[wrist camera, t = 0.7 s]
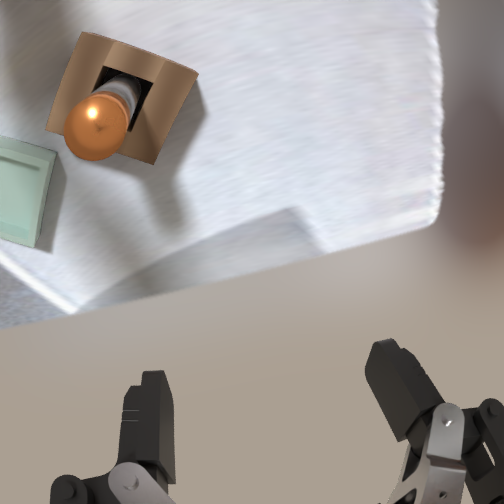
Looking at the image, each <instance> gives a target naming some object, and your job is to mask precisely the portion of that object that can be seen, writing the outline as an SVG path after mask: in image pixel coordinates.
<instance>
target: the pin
mask: <svg viewBox="0 0 504 504" xmlns="http://www.w3.org/2000/svg"><path fill="white" fill-rule="evenodd" d="M140 95H141V85H140V82H139V81H138V79H137V78H136V77H134V76H133V75H130V74H119V75H117V76H115V77H113V78H112V79H110V80H109V81H108V82H106V83H105V84H103V85H102V86H101V87H99V88H98V89H97V90H95V91H94V92H93V93H91V94H90V95H89V96H87V97H86V98H85V99H84V100H82V101H81V102H80V103H79V104H77V105H76V106H75V107H74V108H73V109H72V110H71V111H70V113H69V114H68V116H67V118H66V121H65V124H64V138H65V142H66V144H67V146H68V148H69V149H70V150H71V152H72V153H74V154H75V155H76V156H78V157H79V158H81V159H84V160H88V161H98V160H102V159H105V158H107V157H109V156H111V155H112V154H114V153H115V152H116V151H117V150H118V149H119V147H120V146H121V144H122V142H123V140H124V137H125V135H126V132H127V129H128V126H129V123H130V121H131V118H132V115H133V113H134V110H135V108H136V105H137V102H138V100H139V97H140Z"/></svg>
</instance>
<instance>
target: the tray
mask: <svg viewBox="0 0 504 504" xmlns="http://www.w3.org/2000/svg"><path fill="white" fill-rule="evenodd" d="M56 154H57V152H55V151H52V150H49V149H45V148H42V147H39V146H35V145H32V144H29V143H25V142H22V141H18V140H15V139H11V138H8V137H4V136H1V135H0V238H2V239H6V240H9V241H12V242H15V243H18V244H22V245H25V246H28V247H31V248H34V247H35V244H36V242H37V240H38V238H39V235H40V230H41V224H42V218H43V212H44V207H45V201H46V196H47V192H48V187H49V182H50V178H51V174H52V170H53V166H54V162H55V158H56Z"/></svg>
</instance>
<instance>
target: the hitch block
mask: <svg viewBox="0 0 504 504" xmlns="http://www.w3.org/2000/svg"><path fill="white" fill-rule="evenodd" d="M109 67H110V68H113V69H116V70H119V71H122V72H125V73H128V74H131V75H134V76H136V77H139V78H142V79H145V80H147V81H150V82H153V83H152V85H151V87H150V89H149V91H148V93H147V95H146V97H145V99H144V101H143V103H142V106H141V108H140V110H139V112H138V114H137V117H136V119H135V120H133V119H131V121H130V123H129V126H128V129H127V132H126V135H125V137H124V140H123V142H122V144H121V146H120V147H119V149H118V150H117V151H116V153H119V154H122V155H125V156H128V157H131V158H134V159H137V160H140V161H143V162H146V163H149V164H151V165H154V163H155V161H156V159H157V156H158V154H159V152H160V150H161V148H162V145H163V143H164V141H165V139H166V137H167V135H168V133H169V131H170V129H171V126H172V124H173V122H174V120H175V118H176V116H177V114H178V112H179V110H180V108H181V106H182V105H183V103H184V101H185V99H186V97H187V95H188V93H189V91H190V89H191V88H192V86H193V84H194V82H195V80H196V78H197V77H198V75H199V74H198V73H197V72H196V71H195V70H193V69H191V68H188V67H186V66H184V65H181V64H179V63H176V62H174V61H171V60H169V59H166V58H164V57H161V56H159V55H156V54H154V53H151V52H148V51H146V50H143V49H140V48H137V47H135V46H132V45H129V44H126V43H123V42H120V41H117V40H114V39H111V38H107V37H104V36H101V35H98V34H94V33H88V32H82V33H81V35H80V37H79V39H78V42H77V44H76V46H75V48H74V51H73V53H72V55H71V57H70V60H69V62H68V65H67V67H66V70H65V72H64V75H63V77H62V80H61V83H60V85H59V88H58V91H57V94H56V97H55V100H54V103H53V106H52V109H51V112H50V115H49V118H48V122H47V125H46V129H45V130H47V131H50V132H53V133H57V134H60V135H63V136H64V124H65V121H66V118H67V116H68V114H69V113H70V111H71V110H72V109H73V108H74V107H75V106H76V105H77V104H79V103H80V102H81V101H82V100H84V99H85V98H86V97H87V96H89V95H90V94H91V93H93V92H94V91H95V90H97V89H98V88H99V87H101V84H102V82H103V80H104V77H105V75H106V73H107V71H108V68H109Z"/></svg>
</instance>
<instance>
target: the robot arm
mask: <svg viewBox="0 0 504 504" xmlns="http://www.w3.org/2000/svg"><path fill="white" fill-rule="evenodd" d="M365 376H366V380H367V382H368V384H369V386H370V387H371V389H372V392H373V393H374V395H375V397H376V399H377V401H378V403H379V405H380V407H381V409H382V411H383V413H384V415H385V417H386V419H387V421H388V423H389V425H390V427H391V429H392V431H393V433H394V435H395V437H396V439H397V441H398V442H400V441H403V440H405V439H408V441H409V444H408V447H407V451H406V454H405V458H404V462H403V466H402V469H401V473H400V476H399V479H398V483H397V485H396V487H395V489H394V490H393V492H392V494H391V496H390V498H389V500H388V502H387V504H460V503H461V499H462V493H463V488H464V482H465V483H466V485H467V488H468V490H469V492H470V495H471V497H472V500H473V502H474V504H504V406H503V405H502V403H500V402H499V401H498V400H496V399H491V398H489V399H486V400H484V401H483V402H482V404H481V405H480V406H479V407H478V408H469V409H460V408H459V407H458V406H456V405H454V404H452V403H446V402H445V401H444V400H443V398H442V397H441V395H440V394H439V392H438V391H437V389H436V387H435V386H434V384H433V383H432V381H431V380H430V378H429V377H428V375H427V374H426V373H425V371H424V369H423V368H422V367H421V366H420V363H419V362H418V360H417V359H416V357H415V356H414V355H413V354H412V353H410V352H409V351H408V350H407V349H405V348H403V349H400V347H399V346H398V344H397V343H396V341H395V340H394V339H392V338H390V339H386V340H382V341H377V342H375V343H374V344H373V346H372V349H371V352H370V355H369V358H368V360H367V363H366V366H365ZM484 442H485V443H486V445H487V447H488V449H489V451H490V453H491V455H492V457H493V459H494V462H495V466H494V465H493V463H492V461H491V459H490V457H489V455H488V453H487V451H486V449H485V448H484V445H483V443H484ZM168 484H176V479H175V455H174V405H173V398H172V393H171V391H170V388H169V384H168V381H167V378H166V375H165V373H164V371H163V370H159V371H144V372H143V374H142V382H141V386H131V387H130V388H129V390H128V392H127V393H126V395H125V397H124V403H123V412H122V422H121V430H120V439H119V453H118V460H117V463H116V465H115V466H114V468H113V469H112V470H111V471H110V472H108V473H106V474H105V475H102V476H98V477H93V478H88V479H84V480H80V479H79V478H77V477H76V476H73V475H62V476H60V477H58V478H57V479H55V481H54V482H53V484H52V486H51V494H50V504H176V503H175V502H174V501H173V500H172V499H171V498H170V497H169V496H168ZM379 504H380V503H379Z"/></svg>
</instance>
